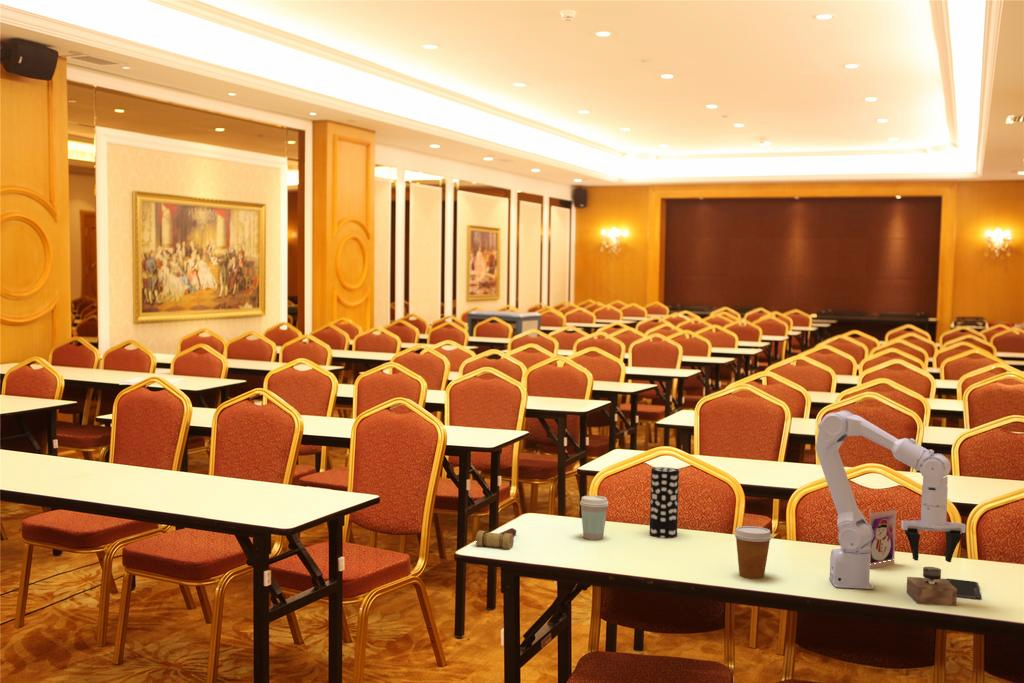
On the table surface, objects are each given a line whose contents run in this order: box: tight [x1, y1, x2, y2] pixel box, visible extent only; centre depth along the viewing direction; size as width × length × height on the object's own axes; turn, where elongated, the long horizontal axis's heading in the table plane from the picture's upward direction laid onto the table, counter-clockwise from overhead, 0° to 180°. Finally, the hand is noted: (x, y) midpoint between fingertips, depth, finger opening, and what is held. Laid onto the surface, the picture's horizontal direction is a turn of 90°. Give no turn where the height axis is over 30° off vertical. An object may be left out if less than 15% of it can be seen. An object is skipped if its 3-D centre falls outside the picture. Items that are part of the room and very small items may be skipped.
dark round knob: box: [922, 566, 942, 584], centre depth 245 cm, size 4×4×7 cm
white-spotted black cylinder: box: [649, 466, 680, 539], centre depth 307 cm, size 8×8×20 cm
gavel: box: [475, 527, 517, 550], centre depth 295 cm, size 21×5×10 cm
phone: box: [945, 578, 982, 601], centre depth 254 cm, size 8×1×15 cm
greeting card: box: [868, 509, 897, 569], centre depth 278 cm, size 11×7×15 cm, turn 123°
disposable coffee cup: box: [733, 525, 773, 579], centre depth 263 cm, size 10×10×12 cm
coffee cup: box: [579, 494, 609, 541], centre depth 301 cm, size 8×8×12 cm
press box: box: [906, 576, 958, 606], centre depth 245 cm, size 9×9×4 cm
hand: (931, 560), depth 245 cm, fingers open, 7 cm apart
